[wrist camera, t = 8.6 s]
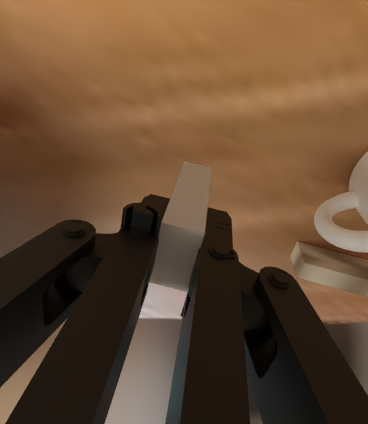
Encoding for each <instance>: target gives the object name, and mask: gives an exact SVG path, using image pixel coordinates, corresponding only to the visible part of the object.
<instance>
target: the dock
mask: <svg viewBox="0 0 368 424" xmlns="http://www.w3.org/2000/svg"><path fill="white" fill-rule="evenodd" d="M290 256H291V260H292V264H293V267H294V271H295V274H296V278H299V279H303V280H307V281H310V282H314V283H318V284H322V285H325V286H329V287H333V288H336V289H340V290H344V291H348V292H351V293H355V294H359V295H362V296H366V297H368V260H366V259H362V258H358V257H354V256H351V255H347V254H343V253H339V252H336V251H332V250H328V249H324V248H321V247H317V246H313V245H309V244H305V243H302V242H298V241H297V243H296V245H295V246H294V248H293V250H292V252H291V254H290Z"/></svg>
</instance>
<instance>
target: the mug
mask: <svg viewBox="0 0 368 424" xmlns="http://www.w3.org/2000/svg"><path fill="white" fill-rule="evenodd" d="M353 208H355V209H356V210H357V212H358V213H359V215H360V216H361V217H362V219H363V220H364V221H365V222H366V224H367V225H368V151H367V152H366V153H365V154H364V155H363V156H362V157H361V159H360V160H359V161H358V163H357V164H356V166H355V167H354V169H353V172H352V174H351V177H350V181H349V192H346V193H342V194H339V195H337V196H334V197H332V198H330V199H328V200H326V201H325V202H323V203H322V204H321V205H320V206H319V207H318V209H317V211H316V212H315V215H314V225H315V228H316V230H317V231H318V233H319V234H320V235H321V236H322V237H323V238H324V239H325V240H326V241H328V242H329V243H331V244H333V245H335V246H337V247H339V248H342V249H345V250H350V251H355V252H363V253H368V230H367V231H355V230H348V229H345V228H342V227H339V226H338V225H336V224H335V223H334V222H333V221H332V217H333V216H334V215H335V214H337V213H339V212H341V211H344V210H348V209H353Z"/></svg>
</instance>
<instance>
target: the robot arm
mask: <svg viewBox="0 0 368 424" xmlns="http://www.w3.org/2000/svg"><path fill="white" fill-rule="evenodd" d="M211 170H212V167H208V166H204V165H199V164H195V163H191V162H187V161H184V164H183V166H182V169H181V172H180V174H179V177H178V180H177V182H176V185H175V188H174V190H173V193H172V196H171V198H170V199H169V198H165V197H161V196H157V195H152V194H150V195H148V196H146V197H145V198H143V200H142V202H141V203H132V204H129V205H126V206H125V207H124V208H123V215H122V223H121V229H120V231H119V232H118V233H113V234H96V233H95V231H96V229H95V228H94V226H93V225H92V224H90V223H88V222H86V221H82V220H66V221H63V222H60V223H58V224H56V225H55V226H53V227H51V228H50V229H48V230H46V231H45V232H43V233H41V234H40V235H38V236H36V237H35V238H33V239H32V240H30V241H28V242H27V243H25V244H23V245H22V246H20V247H18V248H17V249H15V250H13V251H12V252H10V253H8V254H7V255H5V256H4V257H2V258H0V387H1V386H2V385H3V384H4V383H5V382H6V381H7V380H8V379H9V378H10V377H11V376H12V375H13V374H14V373H15V372H16V371H17V370H18V368H19V367H21V365H22V364H23V363H24V362H25V361H26V360H27V359H28V358H29V357H30V356H31V355H32V354H33V353H34V352H35V351H36V350H37V349H38V348H39V347H40V346H41V345H42V344H43V343H44V342H45V341H46V340H47V339H48V337H49V336H50V335H51V334H52V333H53V332H54V331H55V330H56V329H57V328H58V327H59V326H60V325H61V324H62V323H63V322H64V321H65V320H66V319H67V318H68V319H67V320H66V322H65V324H64V325H63V327H62V329H61V330H60V332H59V334H58V335H57V337H56V339H55V340H54V342H53V344H52V346H51V347H50V349H49V351H48V352H47V354H46V356H45V357H44V359H43V361H42V362H41V364H40V366H39V368H38V369H37V371H36V373H35V374H34V376H33V378H32V379H31V381H30V383H29V384H28V386H27V388H26V389H25V391H24V393H23V395H22V396H21V398H20V400H19V401H18V403H17V405H16V406H15V408H14V410H13V412H12V413H11V415H10V417H9V418H8V420H7V422H6V423H5V424H104V423H105V420H106V417H107V414H108V411H109V408H110V404H111V402H112V398H113V395H114V392H115V389H116V386H117V383H118V380H119V377H120V373H121V371H122V367H123V364H124V361H125V358H126V355H127V352H128V349H129V346H130V342H131V339H132V336H133V333H134V329H135V327H136V324H137V321H138V318H139V315H140V312H141V308H142V305H143V302H144V299H145V296H146V293H147V288H148V283H149V282H151V283H155V284H159V285H163V286H167V287H171V288H175V289H179V290H183V291H188V293H187V297H186V300H185V303H184V307H183V310H182V313H181V316H183V317H182V324H181V330H180V336H179V342H178V348H177V355H176V361H175V367H174V374H173V380H172V386H171V392H170V398H169V405H168V411H167V417H166V423H165V424H250V417H249V402H248V388H247V374H246V369H247V371H248V375H249V378H250V382H251V385H252V388H253V392H254V395H255V398H256V401H257V405H258V408H259V411H260V415H261V418H262V421H263V424H368V395H367V394H366V392H365V391H364V389H363V387H362V386H361V384H360V382H359V381H358V379H357V378H356V376H355V374H354V373H353V371H352V370H351V368H350V366H349V365H348V363H347V362H346V360H345V358H344V357H343V355H342V353H341V352H340V351H339V349H338V347H337V345H336V344H335V342H334V341H333V339H332V337H331V336H330V334H329V333H328V331H327V329H326V328H325V326H324V324H323V323H322V321H321V320H320V318H319V316H318V315H317V313H316V311H315V310H314V308H313V307H312V305H311V303H310V302H309V300H308V299H307V297H306V295H305V294H304V292H303V290H302V289H301V287H300V286H299V284H298V282H297V281H296V280H295V279H294V278H293V276H291V275H290V274H289V273H287V272H286V271H284V270H282V269H279V268H275V267H264V268H262V269H261V270H260V272H259V273H257V272H255V271H253V270H251V269H249V268H247V267H246V266H244V265H242V264H241V263H240V262H239V260H238V255H237V253H236V252H235V250H234V249H233V243H232V222H231V218H230V216H229V215H228V213H227V212H224V211H220V210H216V209H212V208H208V198H209V189H210V179H211ZM188 288H189V289H188Z"/></svg>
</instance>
